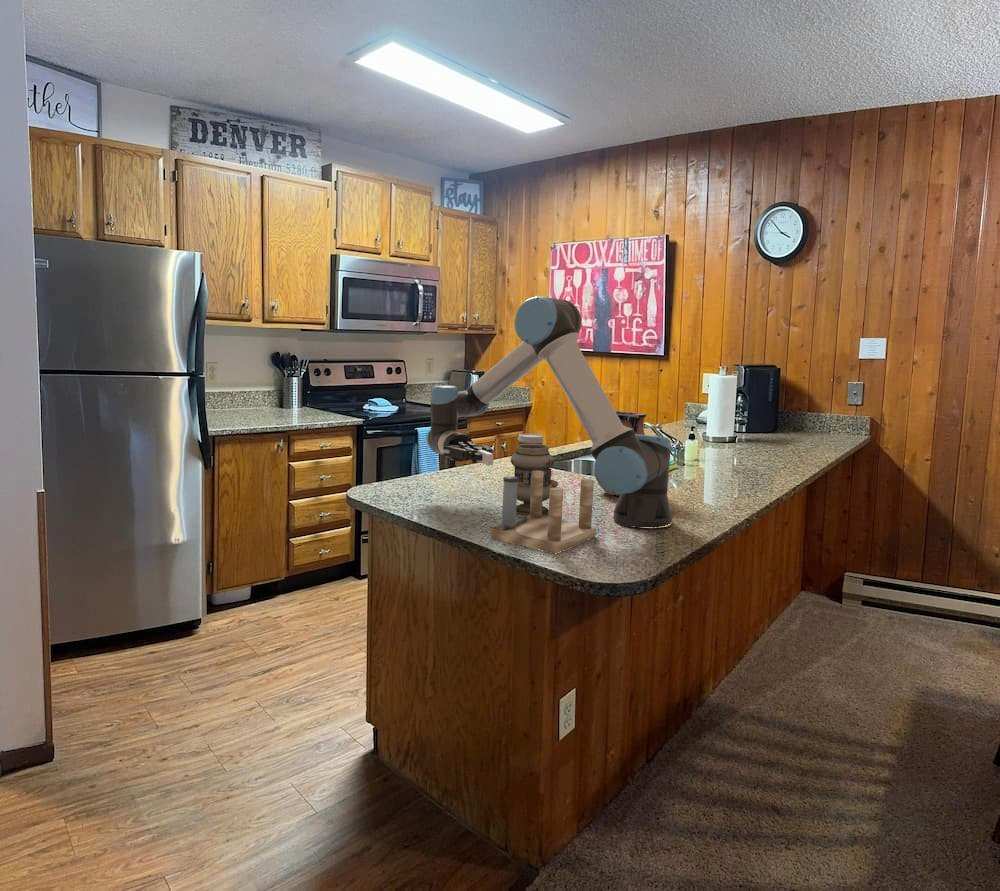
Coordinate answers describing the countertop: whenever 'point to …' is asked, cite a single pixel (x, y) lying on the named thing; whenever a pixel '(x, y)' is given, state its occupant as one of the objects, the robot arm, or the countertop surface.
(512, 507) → the folding leg
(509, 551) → the countertop surface
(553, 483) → the cup and saucer
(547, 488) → the apothecary jar
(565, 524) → the ash stool
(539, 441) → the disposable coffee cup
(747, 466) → the countertop surface
